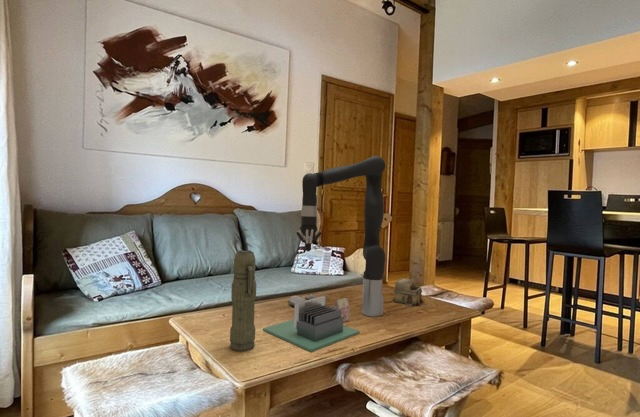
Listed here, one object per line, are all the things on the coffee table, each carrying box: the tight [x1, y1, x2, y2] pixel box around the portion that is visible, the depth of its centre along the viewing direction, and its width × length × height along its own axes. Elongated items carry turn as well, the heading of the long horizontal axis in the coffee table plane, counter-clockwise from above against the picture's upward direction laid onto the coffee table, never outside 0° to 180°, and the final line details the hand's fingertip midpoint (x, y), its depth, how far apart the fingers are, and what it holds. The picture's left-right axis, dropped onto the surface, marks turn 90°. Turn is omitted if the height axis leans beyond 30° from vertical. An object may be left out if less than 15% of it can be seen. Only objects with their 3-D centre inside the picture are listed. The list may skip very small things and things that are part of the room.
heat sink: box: [262, 295, 361, 353], centre depth 153 cm, size 28×28×16 cm
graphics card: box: [287, 293, 319, 307], centre depth 192 cm, size 17×4×12 cm
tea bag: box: [333, 297, 350, 323], centre depth 168 cm, size 4×7×10 cm, turn 135°
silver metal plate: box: [293, 295, 327, 330], centre depth 154 cm, size 18×2×10 cm, turn 138°
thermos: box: [229, 249, 257, 353], centre depth 136 cm, size 9×12×35 cm
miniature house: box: [392, 277, 424, 308], centre depth 202 cm, size 15×14×11 cm
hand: (307, 251), depth 180 cm, fingers closed
